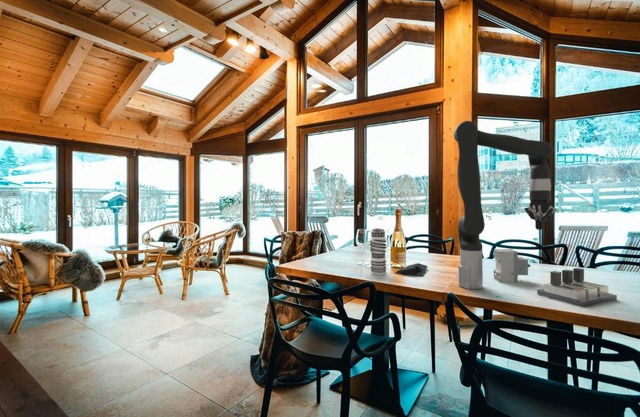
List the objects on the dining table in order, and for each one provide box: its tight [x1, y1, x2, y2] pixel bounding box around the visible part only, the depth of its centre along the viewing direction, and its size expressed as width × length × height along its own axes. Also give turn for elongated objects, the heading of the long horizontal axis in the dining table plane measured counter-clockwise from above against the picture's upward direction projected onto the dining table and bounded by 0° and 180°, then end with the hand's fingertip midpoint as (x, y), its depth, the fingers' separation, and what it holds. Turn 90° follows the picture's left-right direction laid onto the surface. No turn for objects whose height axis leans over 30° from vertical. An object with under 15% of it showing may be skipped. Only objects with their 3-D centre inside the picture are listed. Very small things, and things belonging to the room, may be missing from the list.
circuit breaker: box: [493, 248, 531, 284], centre depth 153 cm, size 8×14×15 cm, turn 78°
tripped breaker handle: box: [549, 270, 562, 285], centre depth 126 cm, size 3×2×5 cm
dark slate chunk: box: [395, 262, 428, 277], centre depth 177 cm, size 15×22×5 cm
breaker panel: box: [536, 267, 618, 308], centre depth 126 cm, size 20×17×10 cm
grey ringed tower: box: [369, 227, 387, 276], centre depth 175 cm, size 9×9×25 cm
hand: (539, 229), depth 136 cm, fingers closed
